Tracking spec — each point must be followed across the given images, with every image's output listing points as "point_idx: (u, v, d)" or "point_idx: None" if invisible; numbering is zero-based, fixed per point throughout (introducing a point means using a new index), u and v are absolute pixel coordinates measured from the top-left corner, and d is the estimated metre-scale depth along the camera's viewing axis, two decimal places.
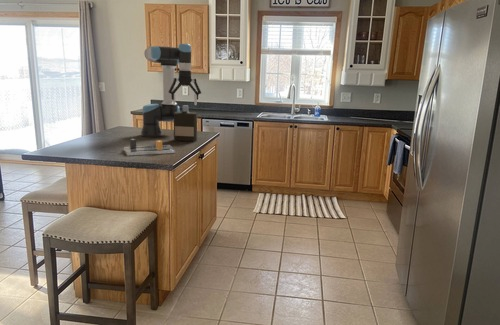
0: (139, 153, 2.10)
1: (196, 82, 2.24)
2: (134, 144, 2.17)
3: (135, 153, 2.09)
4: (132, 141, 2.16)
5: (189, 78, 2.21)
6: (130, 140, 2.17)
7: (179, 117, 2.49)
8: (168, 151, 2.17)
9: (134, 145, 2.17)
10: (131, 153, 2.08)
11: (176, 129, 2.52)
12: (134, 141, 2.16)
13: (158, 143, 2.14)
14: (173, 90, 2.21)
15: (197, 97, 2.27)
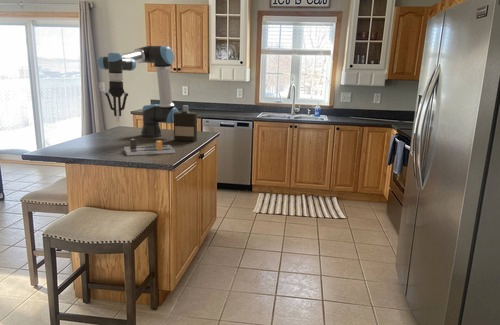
0: (139, 153, 2.10)
1: (126, 97, 2.09)
2: (134, 144, 2.17)
3: (135, 153, 2.09)
4: (132, 141, 2.16)
5: (122, 89, 2.07)
6: (130, 140, 2.17)
7: (179, 117, 2.49)
8: (168, 151, 2.17)
9: (134, 145, 2.17)
10: (131, 153, 2.08)
11: (176, 129, 2.52)
12: (134, 141, 2.16)
13: (158, 143, 2.14)
14: None
15: (120, 113, 2.10)
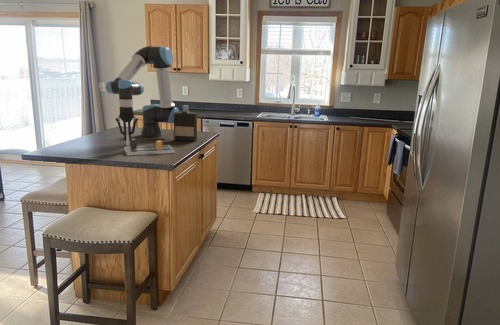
0: (139, 153, 2.10)
1: None
2: (134, 144, 2.17)
3: (135, 153, 2.09)
4: (132, 141, 2.16)
5: (132, 114, 2.13)
6: (130, 140, 2.17)
7: (179, 117, 2.49)
8: (168, 151, 2.17)
9: (134, 145, 2.17)
10: (131, 153, 2.08)
11: (176, 129, 2.52)
12: (134, 141, 2.17)
13: (158, 143, 2.14)
14: None
15: (130, 137, 2.16)
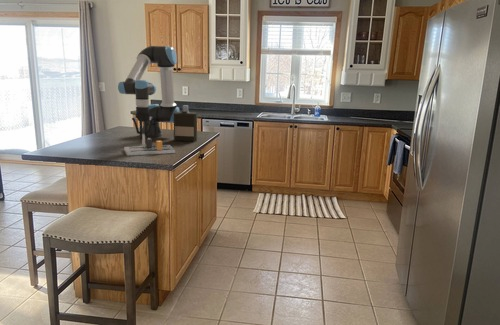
0: (139, 153, 2.10)
1: (151, 121, 2.19)
2: (150, 144, 2.21)
3: (135, 153, 2.09)
4: (148, 140, 2.20)
5: (148, 114, 2.17)
6: (146, 139, 2.21)
7: (179, 117, 2.49)
8: (168, 151, 2.17)
9: (150, 144, 2.21)
10: (131, 153, 2.08)
11: (176, 129, 2.52)
12: (150, 140, 2.20)
13: (158, 143, 2.14)
14: None
15: (145, 137, 2.20)
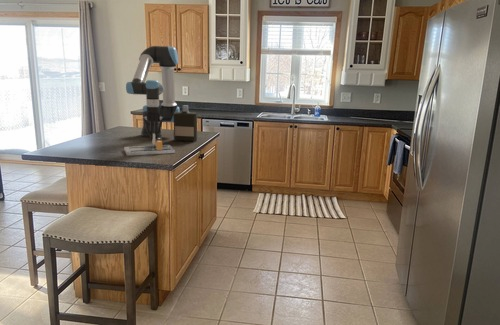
0: (139, 153, 2.10)
1: (162, 121, 2.21)
2: None
3: (135, 153, 2.09)
4: (158, 140, 2.22)
5: (158, 114, 2.19)
6: (156, 139, 2.23)
7: (179, 117, 2.49)
8: (168, 151, 2.17)
9: None
10: (131, 153, 2.08)
11: (176, 129, 2.52)
12: (160, 140, 2.23)
13: (158, 143, 2.14)
14: (150, 130, 2.21)
15: (156, 136, 2.22)
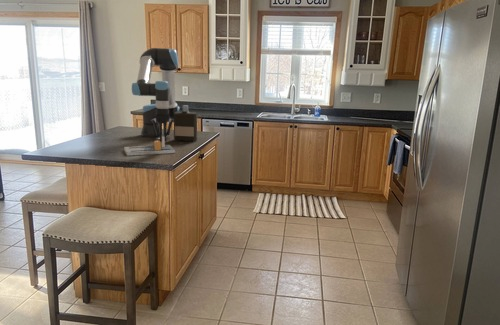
0: (139, 153, 2.10)
1: (171, 123, 2.15)
2: None
3: (135, 153, 2.09)
4: (158, 140, 2.22)
5: (168, 115, 2.13)
6: (156, 139, 2.23)
7: (179, 117, 2.49)
8: (168, 151, 2.17)
9: None
10: (131, 153, 2.08)
11: (176, 129, 2.52)
12: None
13: (156, 143, 2.13)
14: (159, 132, 2.15)
15: (165, 139, 2.16)
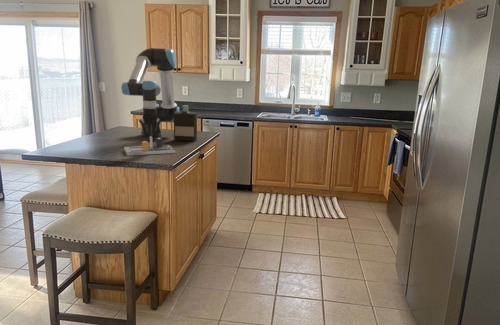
0: (139, 153, 2.10)
1: (159, 123, 2.12)
2: (160, 143, 2.23)
3: (135, 153, 2.09)
4: (158, 140, 2.22)
5: (156, 116, 2.10)
6: (156, 139, 2.23)
7: (179, 117, 2.49)
8: (168, 151, 2.17)
9: (160, 144, 2.23)
10: (131, 153, 2.08)
11: (176, 129, 2.52)
12: (160, 140, 2.23)
13: (144, 144, 2.10)
14: (147, 132, 2.12)
15: (153, 139, 2.13)
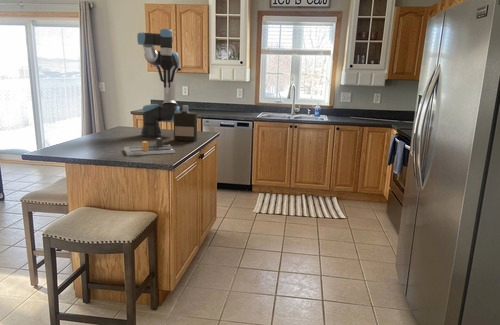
0: (139, 153, 2.10)
1: (175, 70, 2.30)
2: (160, 143, 2.23)
3: (135, 153, 2.09)
4: (158, 140, 2.22)
5: (172, 63, 2.29)
6: (156, 139, 2.23)
7: (179, 117, 2.49)
8: (168, 151, 2.17)
9: (160, 144, 2.23)
10: (131, 153, 2.08)
11: (176, 129, 2.52)
12: (160, 140, 2.23)
13: (144, 144, 2.10)
14: None
15: (169, 85, 2.32)
